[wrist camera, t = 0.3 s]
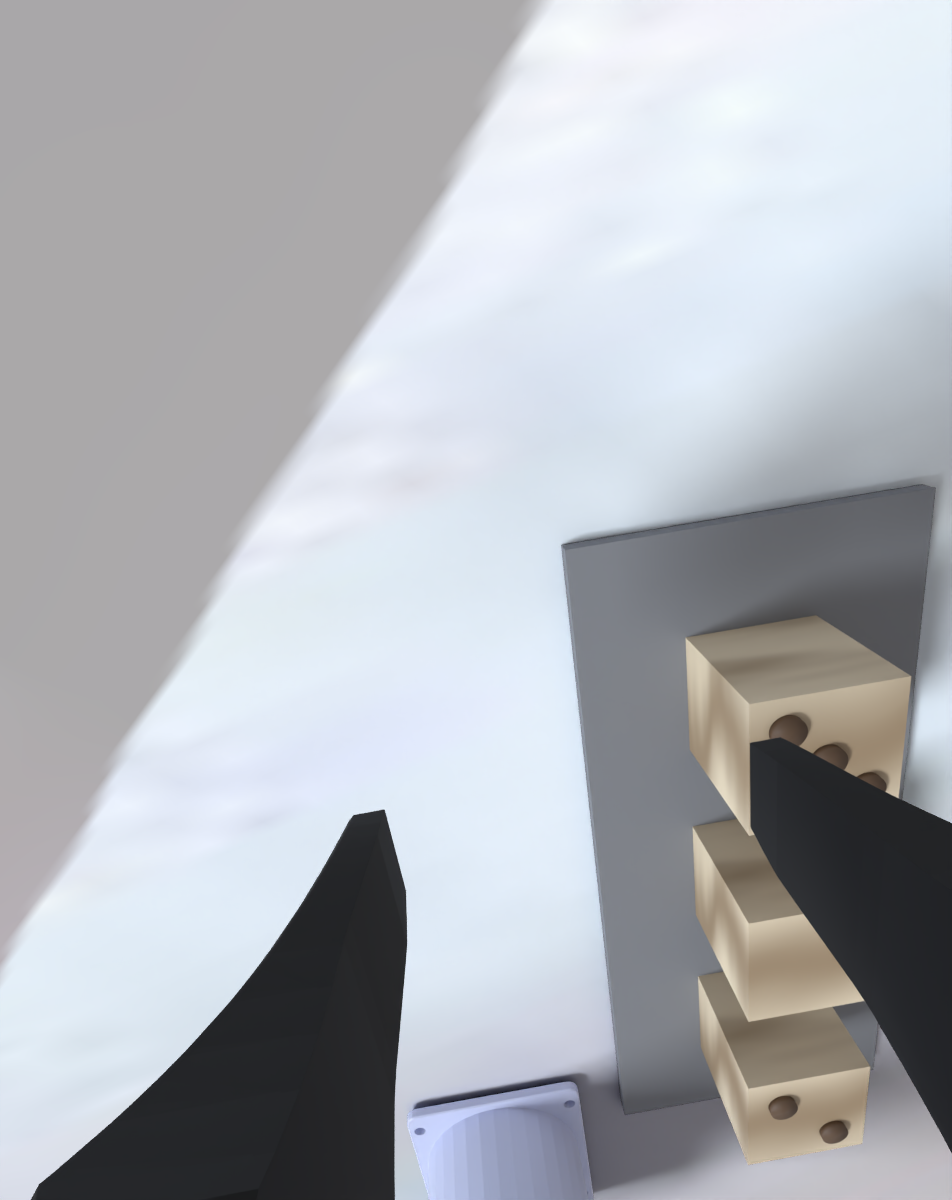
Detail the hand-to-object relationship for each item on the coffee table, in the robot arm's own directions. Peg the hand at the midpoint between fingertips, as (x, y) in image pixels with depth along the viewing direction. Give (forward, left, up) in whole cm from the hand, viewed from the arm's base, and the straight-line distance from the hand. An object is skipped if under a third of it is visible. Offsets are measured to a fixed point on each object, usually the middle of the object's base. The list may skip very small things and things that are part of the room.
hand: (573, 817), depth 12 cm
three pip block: (-3, -8, -9) cm, 13 cm away
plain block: (-11, -8, -9) cm, 17 cm away
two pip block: (-19, -8, -9) cm, 23 cm away
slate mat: (-11, -8, -10) cm, 17 cm away
